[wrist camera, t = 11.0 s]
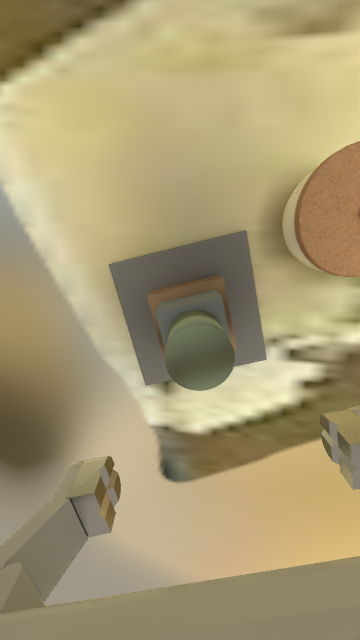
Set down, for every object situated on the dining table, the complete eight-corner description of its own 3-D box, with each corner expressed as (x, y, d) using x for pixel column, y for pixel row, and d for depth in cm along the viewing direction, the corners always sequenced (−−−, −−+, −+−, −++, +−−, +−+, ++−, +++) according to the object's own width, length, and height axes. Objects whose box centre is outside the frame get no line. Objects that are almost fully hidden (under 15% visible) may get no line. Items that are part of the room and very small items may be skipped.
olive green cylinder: (162, 316, 22) (156, 334, 17) (217, 303, 22) (228, 318, 17) (175, 366, 23) (173, 396, 19) (227, 355, 23) (240, 382, 18)
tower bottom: (151, 290, 30) (146, 295, 26) (217, 274, 29) (223, 277, 25) (167, 351, 32) (165, 365, 28) (229, 337, 31) (236, 349, 27)
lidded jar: (342, 279, 30) (412, 291, 21) (256, 260, 29) (290, 264, 20) (378, 181, 27) (477, 147, 18) (284, 159, 27) (338, 112, 18)
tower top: (158, 303, 26) (155, 312, 22) (215, 289, 25) (222, 296, 22) (172, 355, 27) (171, 372, 24) (226, 343, 27) (234, 358, 23)
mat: (110, 264, 30) (108, 264, 29) (244, 231, 28) (246, 230, 28) (146, 382, 34) (145, 385, 33) (264, 357, 33) (266, 359, 32)
